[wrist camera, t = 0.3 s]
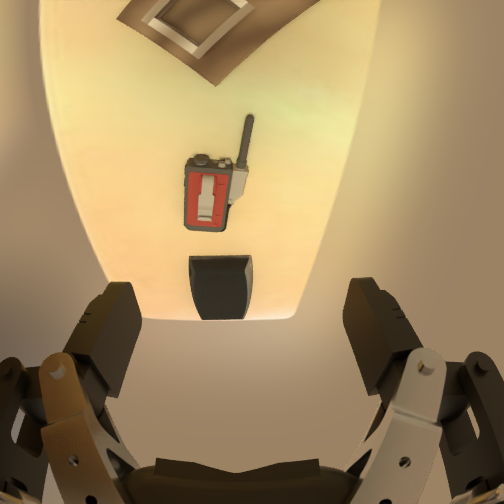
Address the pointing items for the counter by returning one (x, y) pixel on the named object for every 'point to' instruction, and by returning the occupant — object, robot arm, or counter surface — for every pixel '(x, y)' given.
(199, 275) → the external hard drive
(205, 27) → the board
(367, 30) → the counter surface
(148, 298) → the counter surface
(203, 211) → the walkie-talkie
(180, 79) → the counter surface
